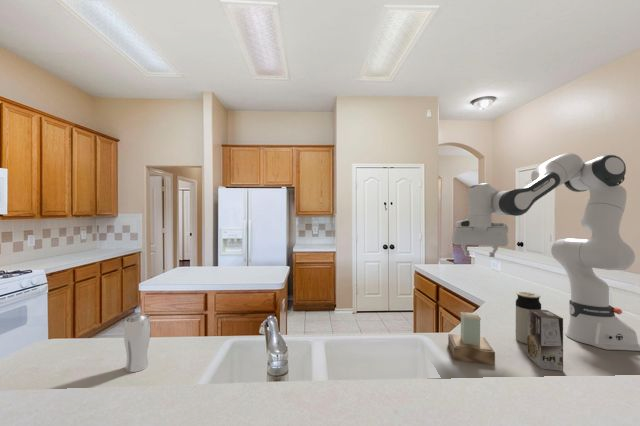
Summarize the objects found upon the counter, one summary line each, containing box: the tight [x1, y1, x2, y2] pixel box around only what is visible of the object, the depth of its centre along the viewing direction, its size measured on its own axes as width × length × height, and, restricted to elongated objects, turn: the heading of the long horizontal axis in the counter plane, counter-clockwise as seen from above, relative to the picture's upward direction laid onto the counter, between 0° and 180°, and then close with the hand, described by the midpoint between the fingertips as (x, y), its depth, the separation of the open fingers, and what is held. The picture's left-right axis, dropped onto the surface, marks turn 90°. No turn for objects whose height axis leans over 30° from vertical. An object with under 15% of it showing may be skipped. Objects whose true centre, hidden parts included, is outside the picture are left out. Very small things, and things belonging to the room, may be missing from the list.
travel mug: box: [515, 291, 542, 345], centre depth 112 cm, size 8×8×18 cm
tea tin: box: [460, 311, 482, 345], centre depth 101 cm, size 5×5×9 cm
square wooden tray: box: [447, 333, 496, 366], centre depth 101 cm, size 12×12×4 cm
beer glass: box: [123, 314, 152, 373], centre depth 90 cm, size 7×7×15 cm
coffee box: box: [527, 309, 564, 372], centre depth 95 cm, size 9×6×16 cm
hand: (479, 256), depth 121 cm, fingers open, 8 cm apart
